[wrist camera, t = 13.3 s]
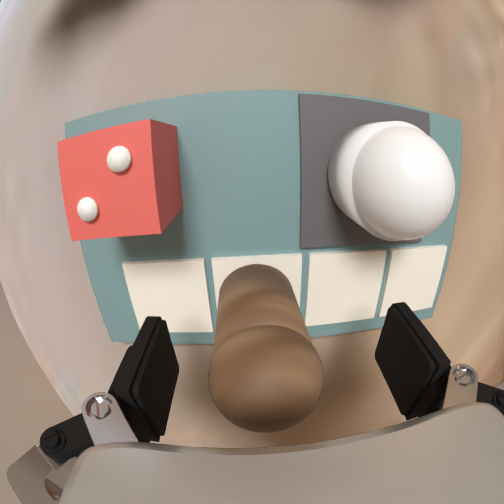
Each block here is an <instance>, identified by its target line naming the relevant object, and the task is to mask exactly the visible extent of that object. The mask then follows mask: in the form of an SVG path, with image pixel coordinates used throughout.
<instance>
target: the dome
mask: <svg viewBox="0 0 504 504" xmlns="http://www.w3.org/2000/svg"><path fill="white" fill-rule="evenodd" d="M328 181H329V187H330V190H331V194H332V196H333V198H334V200H335V202H336V204H337V206H338V207H339V208H340V209H341V211H342V212H343V213H344V214H345V215H346V216H348V217H349V218H351V219H352V220H353V221H355V222H356V223H357V224H359V225H360V226H361V227H363V228H364V229H365V230H367V231H368V232H369V233H371V234H372V235H374V236H376V237H377V238H380V239H383V240H387V241H402V240H413V239H418V238H421V237H424V236H426V235H428V234H430V233H431V232H433V231H434V230H436V229H437V228H438V227H439V226H440V225H441V224H442V223H443V222H444V220H445V219H446V217H447V216H448V214H449V212H450V210H451V207H452V204H453V201H454V195H455V179H454V174H453V169H452V166H451V164H450V161H449V159H448V157H447V156H446V154H445V152H444V151H443V149H442V148H441V147H440V146H439V145H438V144H437V143H436V142H435V141H434V140H433V139H432V138H431V137H429V136H428V135H427V134H426V133H424V132H423V131H422V130H421V129H419V128H418V127H416V126H414V125H412V124H410V123H406V122H402V121H387V122H377V123H367V124H362V125H358V126H356V127H354V128H352V129H350V130H349V131H347V132H346V133H345V134H344V135H343V136H342V137H341V138H340V139H339V141H338V142H337V144H336V145H335V147H334V149H333V151H332V154H331V157H330V161H329V166H328Z"/></svg>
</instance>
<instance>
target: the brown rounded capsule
mask: <svg viewBox="0 0 504 504" xmlns="http://www.w3.org/2000/svg"><path fill="white" fill-rule="evenodd" d="M323 379H324V377H323V367H322V363H321V360H320V357H319V355H318V353H317V351H316V350H315V348H314V347H313V345H312V342H311V339H310V337H309V334H308V331H307V328H306V325H305V322H304V319H303V317H302V314H301V311H300V308H299V305H298V303H297V300H296V297H295V294H294V292H293V289H292V286H291V283H290V281H289V280H288V278H287V277H286V276H285V275H284V274H283V273H282V272H281V271H280V270H278V269H276V268H274V267H272V266H269V265H264V264H250V265H246V266H243V267H240V268H238V269H236V270H234V271H233V272H232V273H230V274H229V275H228V276H227V277H226V278H225V280H224V281H223V283H222V285H221V287H220V291H219V299H218V308H217V318H216V328H215V338H214V349H213V358H212V360H211V363H210V367H209V374H208V383H209V390H210V393H211V396H212V399H213V401H214V403H215V405H216V406H217V408H218V410H219V411H220V412H221V413H222V414H223V415H224V416H225V417H226V418H227V419H228V420H229V421H231V422H232V423H234V424H235V425H237V426H239V427H241V428H244V429H246V430H250V431H255V432H266V433H267V432H276V431H281V430H284V429H287V428H289V427H291V426H293V425H295V424H297V423H299V422H300V421H301V420H303V419H304V418H305V417H306V416H307V415H308V414H309V413H310V412H311V411H312V409H313V408H314V407H315V405H316V403H317V401H318V399H319V397H320V394H321V391H322V387H323Z"/></svg>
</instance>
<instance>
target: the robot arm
mask: <svg viewBox="0 0 504 504" xmlns="http://www.w3.org/2000/svg"><path fill="white" fill-rule="evenodd" d="M375 359H376V361H377V363H378V365H379V367H380V370H381V372H382V374H383V376H384V378H385V380H386V382H387V384H388V386H389V388H390V391H391V393H392V395H393V397H394V399H395V401H396V404H397V406H398V408H399V410H400V412H401V414H402V415H405V417H406V420H410V419H413V418H416V417H417V416H418V418H416V419H413V420H410V421H406V422H403V423H400V424H397V425H393V426H390V427H386V428H383V429H379V430H375V431H371V432H367V433H363V434H359V435H354V436H349V437H344V438H339V439H334V440H328V441H322V442H315V443H308V444H299V445H290V446H278V447H262V448H207V447H188V446H176V445H166V444H155V443H150V441H156V442H159V440H160V435H161V436H163V435H164V434H165V430H166V426H167V421H168V416H169V412H170V407H171V403H172V399H173V394H174V390H175V386H176V382H177V378H178V374H179V365H178V362H177V358H176V355H175V351H174V348H173V345H172V341H171V337H170V334H169V330H168V326H167V323H166V320H162V318H161V317H160V316H147V317H146V319H145V321H144V323H143V325H142V327H141V329H140V331H139V333H138V335H137V337H136V339H135V341H134V344H133V346H130V347H129V348H128V349H127V351H126V353H125V356H124V358H123V360H122V362H121V364H120V366H119V368H118V371H117V373H116V375H115V377H114V380H113V382H112V384H111V386H110V389H109V391H108V393H105V392H97V393H94V394H92V395H90V396H88V397H87V398H86V399H85V401H84V402H83V404H82V413H81V414H79V415H77V416H75V417H72V418H70V419H68V420H66V421H64V422H61V423H59V424H57V425H55V426H52V427H50V428H48V429H47V430H45V431H44V432H43V434H42V436H41V438H40V446H39V447H37V446H34V447H32V448H31V449H30V450H29V451H28V452H26V453H25V454H24V455H23V456H22V457H20V458H19V459H18V460H17V461H16V462H15V463H13V464H12V465H11V466H10V467H9V468H8V471H7V478H8V481H9V483H10V485H11V487H12V488H13V490H14V492H15V493H16V495H17V496H18V498H19V499H20V501H21V503H22V504H504V390H501V389H498V388H495V387H492V386H489V385H486V384H483V383H480V382H478V376H477V373H476V372H475V370H474V369H473V368H471V367H470V366H468V365H466V364H456V365H454V366H453V367H451V366H450V363H451V361H450V360H449V358H448V357H447V356H446V354H445V353H444V352H443V350H442V349H441V347H440V346H439V345H438V343H437V342H436V341H435V339H434V338H433V337H432V335H431V334H430V333H429V331H428V330H427V329H426V328H425V326H424V325H423V324H422V322H421V321H420V320H419V319H418V317H417V316H416V315H415V314H414V312H413V311H412V310H411V309H410V307H409V306H408V305H407V304H406V303H405V302H399V303H393V304H392V305H391V307H389V308H388V310H387V314H386V317H385V321H384V325H383V328H382V332H381V335H380V338H379V341H378V345H377V348H376V351H375Z"/></svg>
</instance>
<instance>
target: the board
mask: <svg viewBox="0 0 504 504" xmlns="http://www.w3.org/2000/svg"><path fill="white" fill-rule="evenodd" d="M387 121H402V122H406V123H410V124H412V125H414V126H416V127H418V128H419V129H421V130H422V131H423V132H424V133H426V134H427V135H428V136H429V137H431V138H432V139H433V140H434V141H435V142H436V143H437V144H438V145H439V146H440V147H441V148H442V149H443V151H444V152H445V154H446V156H447V157H448V159H449V161H450V164H451V166H452V169H453V174H454V179H455V195H454V201H453V204H452V207H451V210H450V212H449V214H448V216H447V217H446V219H445V220H444V222H443V223H442V224H441V225H440V226H439V227H438V228H437V229H436V230H434V231H433V232H431V233H430V234H428V235H426V236H424V237H421V238H418V239H413V240H402V241H387V240H383V239H380V238H377V237H376V236H374V235H372V234H371V233H369V232H368V231H367V230H365V229H364V228H363V227H361V226H360V225H359V224H357V223H356V222H355V221H353V220H352V219H351V218H349V217H348V216H346V215H345V214H344V213H343V212H342V211H341V209H340V208H339V207H338V206H337V204H336V202H335V200H334V198H333V196H332V194H331V190H330V187H329V181H328V166H329V161H330V157H331V154H332V151H333V149H334V147H335V145H336V144H337V142H338V141H339V139H340V138H341V137H342V136H343V135H344V134H345V133H346V132H347V131H349V130H350V129H352V128H354V127H356V126H358V125H362V124H367V123H377V122H387ZM65 136H66V139H65V140H62V141H59V142H58V155H59V166H60V175H61V183H62V191H63V197H64V204H65V209H66V215H67V220H68V225H69V230H70V234H71V239H72V241H77V240H80V243H81V247H82V251H83V255H84V259H85V263H86V267H87V270H88V274H89V277H90V281H91V284H92V287H93V291H94V294H95V297H96V300H97V303H98V306H99V309H100V312H101V315H102V317H103V320H104V323H105V325H106V328H107V331H108V333H109V336H110V338H111V341H117V342H133V343H134V341H135V339H136V337H137V335H138V333H139V331H140V329H141V327H142V325H143V323H144V321H145V319H146V317H147V316H160V317H161V318H162V320H166V323H167V326H168V330H169V334H170V337H171V341H172V344H214V338H215V328H216V318H217V308H218V299H219V291H220V287H221V285H222V283H223V281H224V280H225V278H226V277H227V276H228V275H229V274H230V273H232V272H233V271H234V270H236V269H238V268H240V267H243V266H246V265H250V264H264V265H269V266H272V267H274V268H276V269H278V270H280V271H281V272H282V273H283V274H284V275H285V276H286V277H287V278H288V280H289V281H290V283H291V286H292V289H293V292H294V294H295V297H296V300H297V303H298V305H299V308H300V311H301V314H302V317H303V319H304V322H305V325H306V328H307V331H308V334H309V337H310V338H312V337H320V336H329V335H336V334H344V333H351V332H358V331H364V330H370V329H376V328H382V327H383V325H384V321H385V317H386V314H387V310H388V308H389V307H391V305H392V304H393V303H399V302H405V303H406V304H407V305H408V306H409V307H410V309H411V310H412V311H413V312H414V314H415V315H416V316H417V317H418V319H419V320H422V319H426V318H431V317H432V315H433V312H434V309H435V306H436V303H437V300H438V296H439V293H440V290H441V286H442V282H443V279H444V275H445V271H446V267H447V263H448V258H449V254H450V249H451V244H452V239H453V234H454V228H455V222H456V215H457V208H458V200H459V190H460V178H461V161H462V121H460V120H457V119H454V118H451V117H447V116H444V115H441V114H437V113H434V112H430V111H427V110H423V109H419V108H415V107H411V106H407V105H402V104H397V103H393V102H388V101H382V100H377V99H371V98H365V97H358V96H350V95H342V94H333V93H322V92H309V91H286V90H250V91H228V92H214V93H203V94H194V95H185V96H178V97H171V98H165V99H159V100H153V101H148V102H143V103H138V104H133V105H128V106H124V107H120V108H116V109H112V110H108V111H104V112H100V113H97V114H93V115H90V116H86V117H83V118H80V119H77V120H74V121H71V122H68V123H65Z"/></svg>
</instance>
